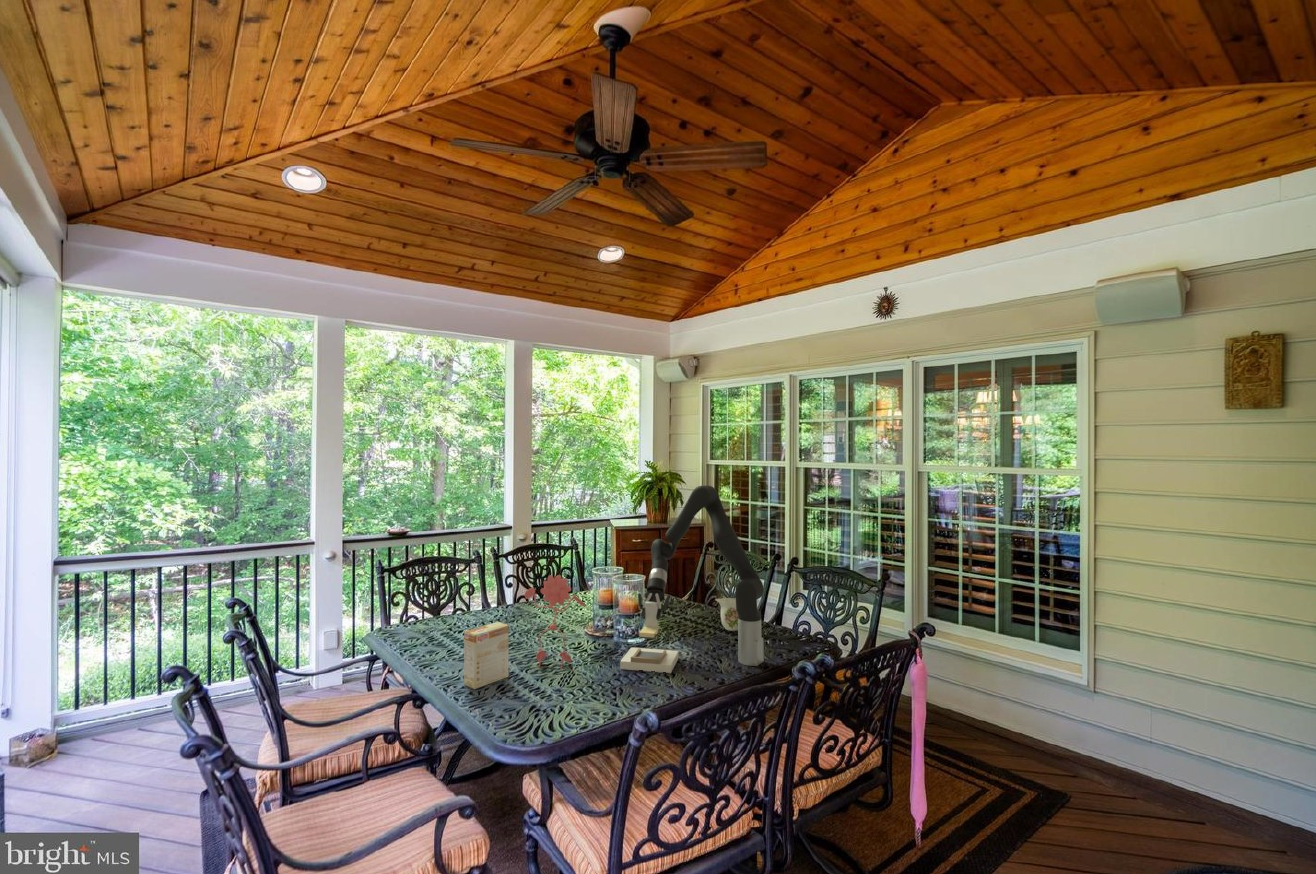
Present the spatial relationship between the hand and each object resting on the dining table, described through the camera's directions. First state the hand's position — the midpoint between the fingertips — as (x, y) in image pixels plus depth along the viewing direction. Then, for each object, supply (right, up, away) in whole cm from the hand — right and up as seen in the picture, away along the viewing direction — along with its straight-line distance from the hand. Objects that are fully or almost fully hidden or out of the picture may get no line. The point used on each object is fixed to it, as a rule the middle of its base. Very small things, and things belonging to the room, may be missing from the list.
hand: (650, 618), depth 233 cm
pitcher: (+39, -18, +43) cm, 61 cm away
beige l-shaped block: (0, -6, -2) cm, 7 cm away
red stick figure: (-38, -18, 0) cm, 42 cm away
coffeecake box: (-60, -18, -18) cm, 66 cm away
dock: (0, -18, -1) cm, 18 cm away
